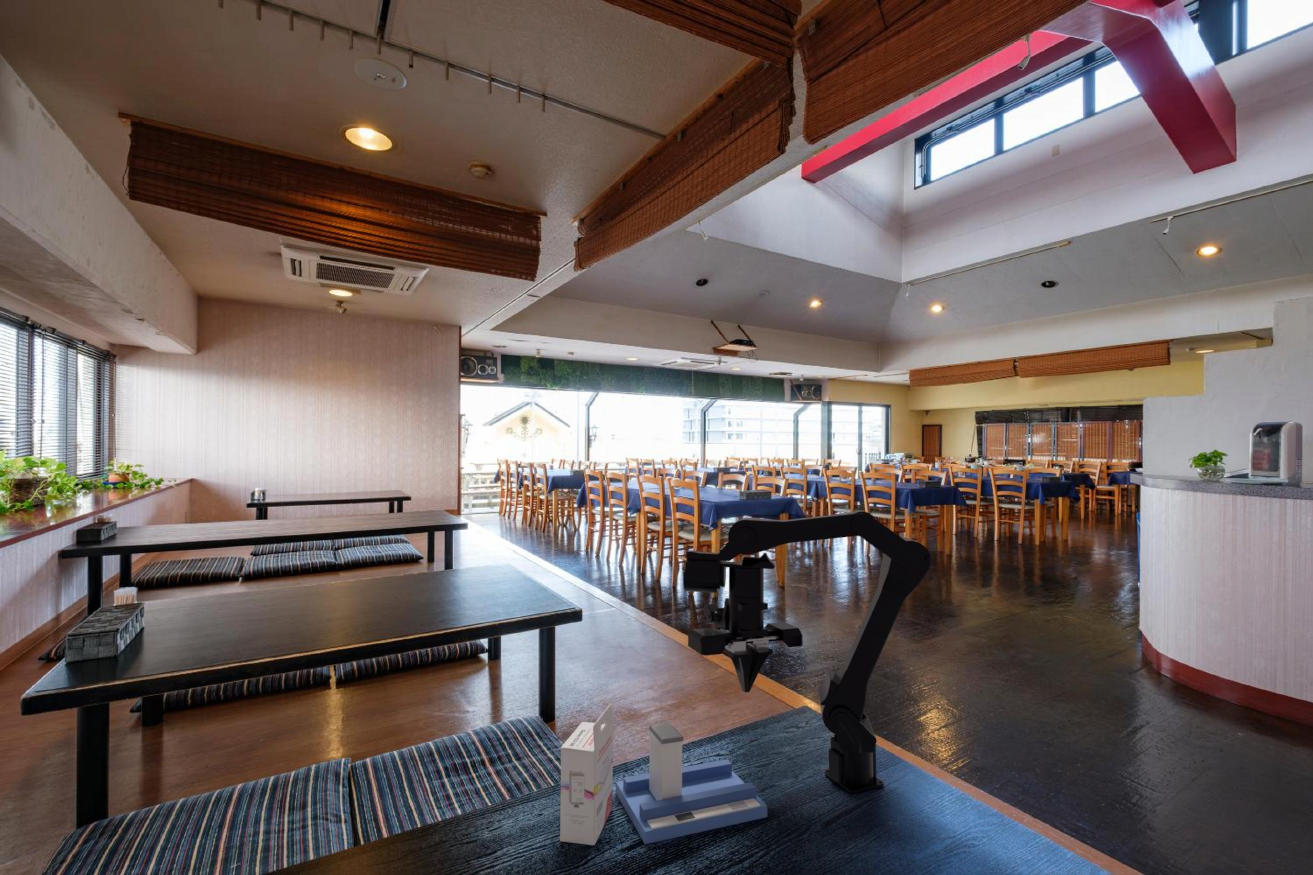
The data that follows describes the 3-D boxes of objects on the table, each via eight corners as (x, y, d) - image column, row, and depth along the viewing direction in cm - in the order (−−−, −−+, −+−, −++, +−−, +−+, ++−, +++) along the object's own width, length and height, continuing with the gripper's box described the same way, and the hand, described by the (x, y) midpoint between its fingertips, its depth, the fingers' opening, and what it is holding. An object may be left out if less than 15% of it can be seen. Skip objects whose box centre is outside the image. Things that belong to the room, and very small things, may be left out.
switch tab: (668, 785, 84) (669, 721, 84) (682, 803, 79) (683, 736, 80) (648, 789, 83) (649, 724, 83) (661, 808, 78) (661, 739, 78)
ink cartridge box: (579, 805, 81) (581, 698, 82) (613, 809, 80) (614, 701, 81) (557, 842, 73) (560, 722, 74) (594, 847, 72) (596, 726, 73)
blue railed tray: (723, 772, 91) (723, 752, 91) (767, 816, 79) (767, 794, 79) (615, 792, 85) (616, 771, 85) (644, 844, 73) (645, 819, 73)
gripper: (768, 583, 105) (768, 670, 104) (675, 588, 99) (674, 681, 98) (804, 595, 95) (805, 691, 94) (703, 601, 89) (702, 705, 87)
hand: (745, 691), depth 93 cm, fingers closed
